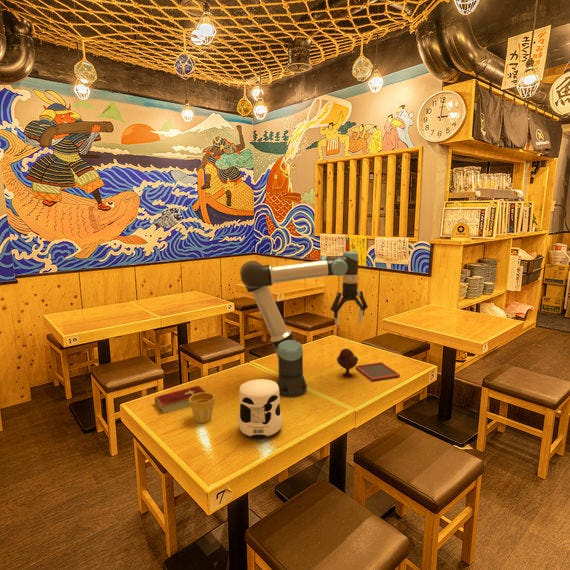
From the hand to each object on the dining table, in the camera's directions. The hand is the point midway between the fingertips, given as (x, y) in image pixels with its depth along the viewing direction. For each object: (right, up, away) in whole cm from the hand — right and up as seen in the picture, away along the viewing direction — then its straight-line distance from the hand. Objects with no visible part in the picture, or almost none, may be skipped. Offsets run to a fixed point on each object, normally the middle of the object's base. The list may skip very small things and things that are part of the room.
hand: (348, 323), depth 203 cm
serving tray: (+16, -27, +6) cm, 32 cm away
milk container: (-42, -38, -46) cm, 73 cm away
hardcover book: (-80, -35, -21) cm, 90 cm away
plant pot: (-67, -37, -37) cm, 85 cm away
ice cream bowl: (0, -28, +4) cm, 28 cm away
